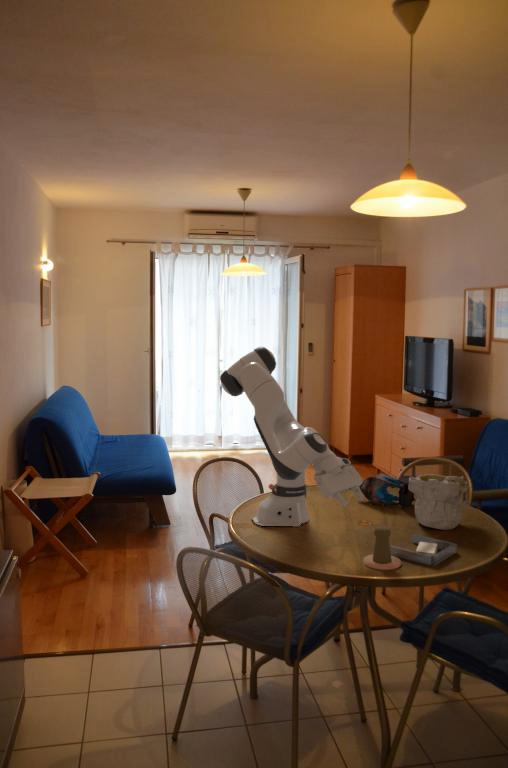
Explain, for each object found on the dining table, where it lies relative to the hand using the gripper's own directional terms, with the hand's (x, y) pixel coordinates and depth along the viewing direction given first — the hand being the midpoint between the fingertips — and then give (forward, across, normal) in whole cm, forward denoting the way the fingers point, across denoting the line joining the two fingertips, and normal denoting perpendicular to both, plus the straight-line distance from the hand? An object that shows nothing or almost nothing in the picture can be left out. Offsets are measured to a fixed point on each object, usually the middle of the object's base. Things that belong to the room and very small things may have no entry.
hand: (353, 502), depth 218 cm
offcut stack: (+26, +15, 0) cm, 31 cm away
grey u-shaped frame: (+25, +16, 0) cm, 30 cm away
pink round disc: (+21, -1, +5) cm, 21 cm away
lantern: (-3, +61, +29) cm, 67 cm away
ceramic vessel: (+18, +50, +7) cm, 54 cm away
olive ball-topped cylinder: (+20, -1, +4) cm, 21 cm away
